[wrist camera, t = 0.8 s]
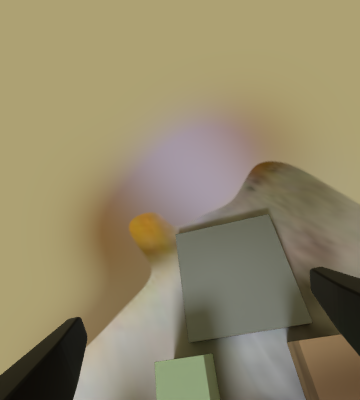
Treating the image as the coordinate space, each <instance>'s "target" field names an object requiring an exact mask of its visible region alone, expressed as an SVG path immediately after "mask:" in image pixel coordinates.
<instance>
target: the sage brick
mask: <svg viewBox="0 0 360 400" xmlns="http://www.w3.org/2000/svg"><path fill="white" fill-rule="evenodd" d="M155 378H156V399H157V400H220V394H219V388H218V383H217V377H216V371H215V365H214V359H213V353H212V354H205V355H198V356H192V357H185V358H178V359H172V360H166V361H160V362H155Z"/></svg>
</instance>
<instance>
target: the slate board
mask: <svg viewBox="0 0 360 400" xmlns="http://www.w3.org/2000/svg"><path fill="white" fill-rule="evenodd" d="M176 243H177V251H178V259H179V267H180V275H181V284H182V292H183V300H184V308H185V316H186V324H187V333H188V341H189V342H198V341H204V340H210V339H217V338H223V337H229V336H236V335H242V334H248V333H255V332H261V331H267V330H274V329H280V328H286V327H293V326H299V325H306V324H311V323H313V322H312V320H311V317H310V315H309V312H308V310H307V307H306V305H305V302H304V300H303V297H302V295H301V293H300V290H299V288H298V285H297V283H296V280H295V278H294V275H293V273H292V270H291V268H290V265H289V263H288V261H287V258H286V256H285V253H284V251H283V248H282V246H281V243H280V241H279V238H278V236H277V233H276V231H275V228H274V226H273V224H272V221H271V219H270V216H269V214H266V215H262V216H257V217H253V218H248V219H244V220H239V221H235V222H230V223H226V224H221V225H217V226H212V227H208V228H203V229H199V230H194V231H190V232H185V233H181V234H176Z"/></svg>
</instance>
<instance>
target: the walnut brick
mask: <svg viewBox="0 0 360 400" xmlns="http://www.w3.org/2000/svg"><path fill="white" fill-rule="evenodd" d="M287 344H288V347H289V350H290V353H291V356H292V359H293V362H294V365H295V368H296V371H297V374H298V377H299V380H300V383H301V386H302V389H303V392H304V395H305V398H306V400H360V356H359V355H358V354H357V353H356V351H355V350H354V349H353V348H352V347H351V345H350V344H349V343H348V342H347V341H346V339H345V338H344V337H343V336H342V334H339V335H332V336H326V337H319V338H312V339H306V340H299V341H292V342H287Z"/></svg>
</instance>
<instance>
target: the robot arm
mask: <svg viewBox="0 0 360 400" xmlns="http://www.w3.org/2000/svg"><path fill="white" fill-rule="evenodd" d="M310 284H311V290H312V293H313V294H314V296H315V297H316V299H317V300H318V302H319V303H320V305H321V306H322V308H323V309H324V311H325V312H326V313H327V315H328V316H329V318H330V319H331V321H332V322H333V324H334V325H335V326H336V328H337V329H338V331H339V332H340V333H341V334H342V336H343V337H344V338H345V339H346V341H347V342H348V343H349V344H350V345H351V347H352V348H353V349H354V350H355V351H356V353H357V354H358V355H359V356H360V278H356V277H353V276H350V275H347V274H343V273H340V272H337V271H334V270H330V269H327V268H324V267H317V268H312V269H311V270H310ZM86 343H87V333H86V330H85V327H84V324H83V322H82V319H81V318H80V317H75V318H71V319H68V320H67V321H65V322H64V323H63V324H62V325H61V326H59V327H58V328H57V329H56V330H55V331H54V332H52V333H51V334H50V335H49V336H47V337H46V338H45V339H44V340H43V341H41V342H40V343H39V344H38V345H36V346H35V347H34V348H33V349H32V350H31V351H29V352H28V353H27V354H26V355H24V356H23V357H22V358H21V359H20V360H18V361H17V362H16V363H15V364H14V365H12V366H11V367H10V368H9V369H8V370H6V371H5V372H4V373H3V374H1V375H0V400H73V398H74V394H75V391H76V388H77V384H78V380H79V376H80V371H81V366H82V362H83V357H84V353H85V348H86Z"/></svg>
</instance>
